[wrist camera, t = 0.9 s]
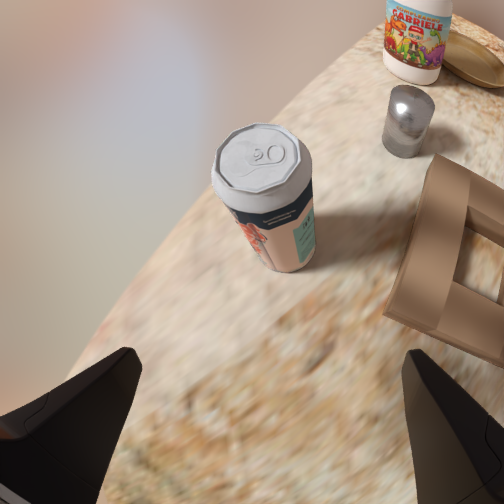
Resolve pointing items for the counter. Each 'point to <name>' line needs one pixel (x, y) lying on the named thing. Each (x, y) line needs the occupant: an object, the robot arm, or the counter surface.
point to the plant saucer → (473, 61)
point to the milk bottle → (416, 38)
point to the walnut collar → (450, 263)
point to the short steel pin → (407, 120)
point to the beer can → (268, 192)
